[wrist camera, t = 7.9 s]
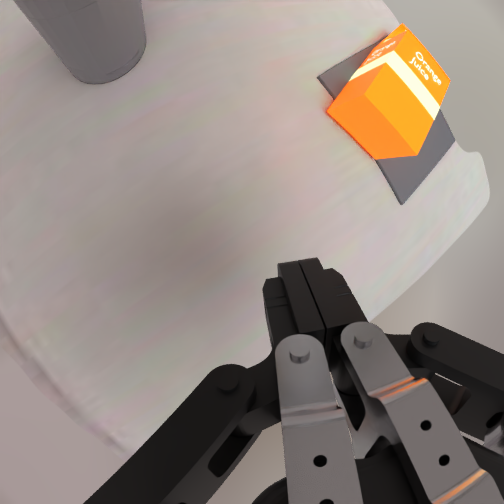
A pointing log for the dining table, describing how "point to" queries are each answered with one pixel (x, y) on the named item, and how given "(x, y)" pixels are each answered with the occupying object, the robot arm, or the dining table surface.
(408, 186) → the mat
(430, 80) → the orange juice
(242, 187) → the dining table surface
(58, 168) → the dining table surface
